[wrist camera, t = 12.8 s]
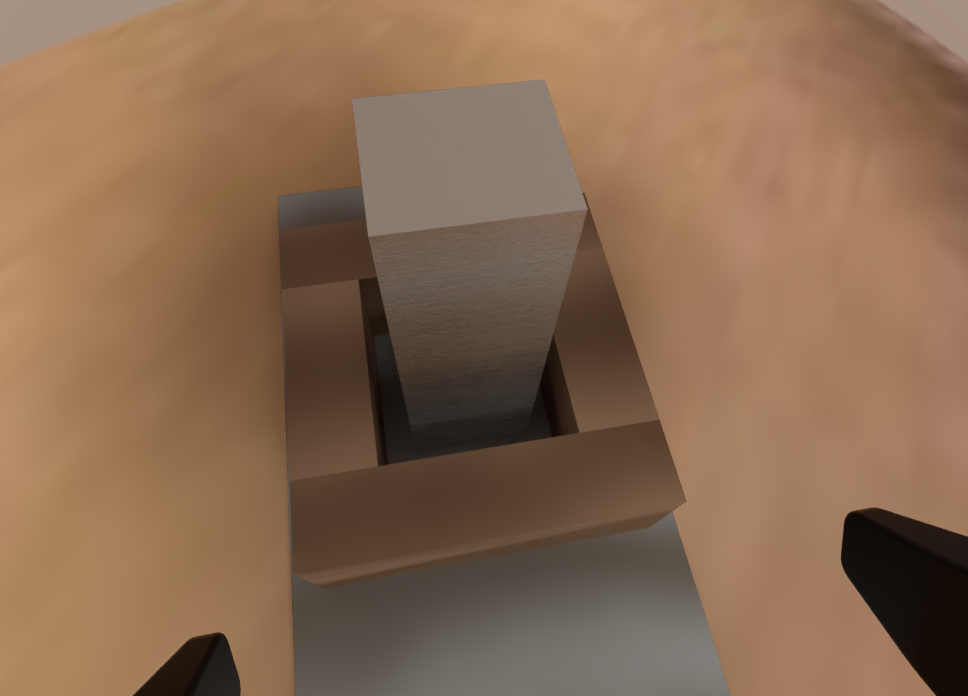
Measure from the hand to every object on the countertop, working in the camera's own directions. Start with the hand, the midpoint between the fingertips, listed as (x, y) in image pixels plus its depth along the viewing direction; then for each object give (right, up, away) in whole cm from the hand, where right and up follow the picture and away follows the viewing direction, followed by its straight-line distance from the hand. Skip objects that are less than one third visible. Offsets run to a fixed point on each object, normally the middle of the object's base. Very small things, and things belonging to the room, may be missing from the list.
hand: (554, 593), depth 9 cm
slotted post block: (-2, +1, +15) cm, 15 cm away
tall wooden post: (-2, +1, +14) cm, 14 cm away
